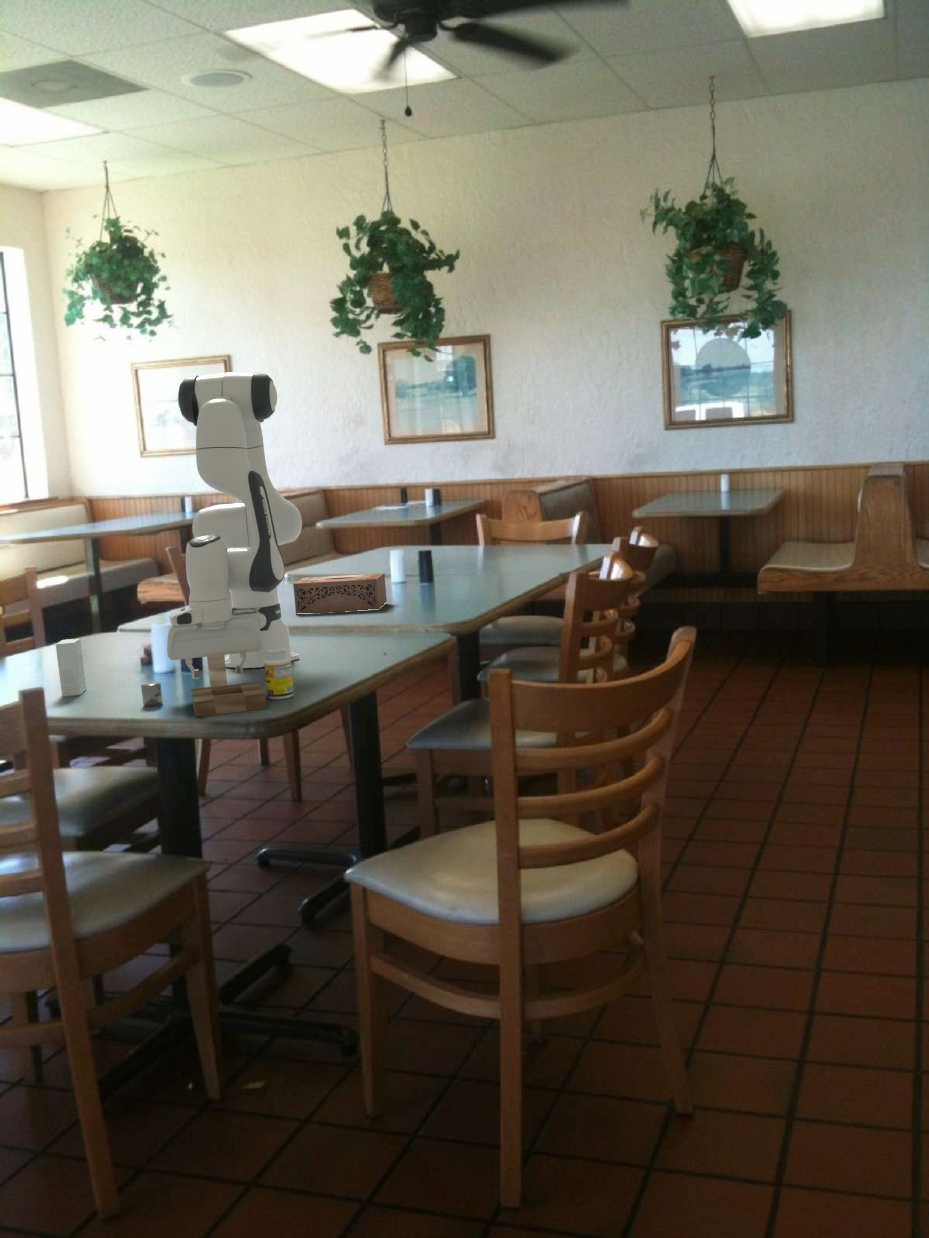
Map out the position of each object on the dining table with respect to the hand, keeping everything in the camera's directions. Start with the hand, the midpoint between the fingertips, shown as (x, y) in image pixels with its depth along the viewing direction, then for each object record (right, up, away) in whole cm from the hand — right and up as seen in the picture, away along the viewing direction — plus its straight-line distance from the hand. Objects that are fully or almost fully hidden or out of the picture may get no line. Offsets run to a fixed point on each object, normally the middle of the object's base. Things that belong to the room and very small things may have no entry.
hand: (217, 675), depth 270 cm
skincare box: (-35, -5, +13) cm, 38 cm away
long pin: (0, -4, +1) cm, 4 cm away
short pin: (-12, -6, -6) cm, 15 cm away
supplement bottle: (+15, -4, -7) cm, 17 cm away
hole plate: (+5, -6, -12) cm, 14 cm away
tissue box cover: (+15, +15, +120) cm, 122 cm away
